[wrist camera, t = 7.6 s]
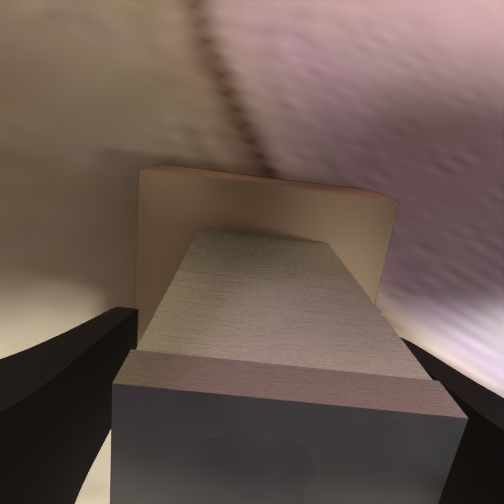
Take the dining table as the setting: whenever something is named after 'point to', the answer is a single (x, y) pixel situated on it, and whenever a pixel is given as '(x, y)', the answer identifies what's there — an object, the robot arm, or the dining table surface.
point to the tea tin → (275, 388)
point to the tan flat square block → (251, 223)
